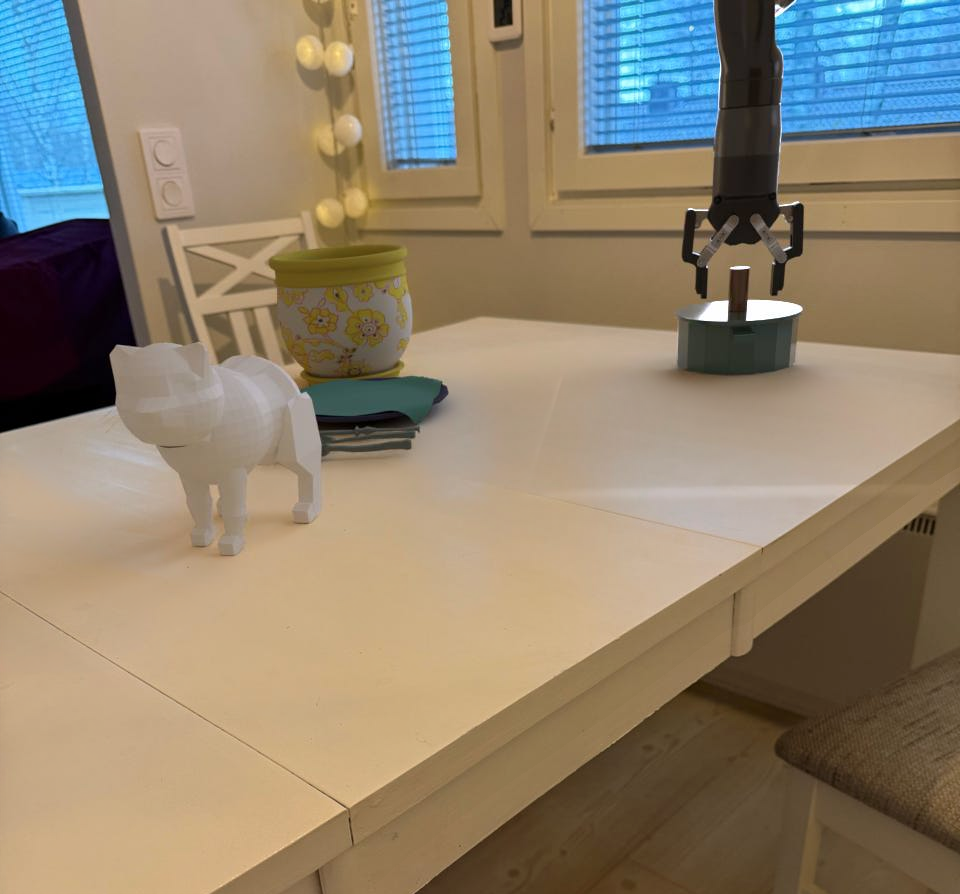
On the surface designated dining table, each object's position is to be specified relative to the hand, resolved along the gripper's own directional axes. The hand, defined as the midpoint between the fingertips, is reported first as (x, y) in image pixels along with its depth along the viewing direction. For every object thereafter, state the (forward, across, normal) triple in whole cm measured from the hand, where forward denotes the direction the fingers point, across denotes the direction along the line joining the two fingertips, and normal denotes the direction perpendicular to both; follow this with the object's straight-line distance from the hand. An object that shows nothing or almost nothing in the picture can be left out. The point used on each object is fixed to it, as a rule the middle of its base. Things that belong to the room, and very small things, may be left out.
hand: (738, 296), depth 118 cm
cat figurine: (+9, -45, -56) cm, 72 cm away
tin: (+9, 0, 0) cm, 9 cm away
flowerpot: (+9, -51, 0) cm, 52 cm away
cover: (+2, 0, 0) cm, 2 cm away
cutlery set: (+9, -44, -23) cm, 50 cm away
